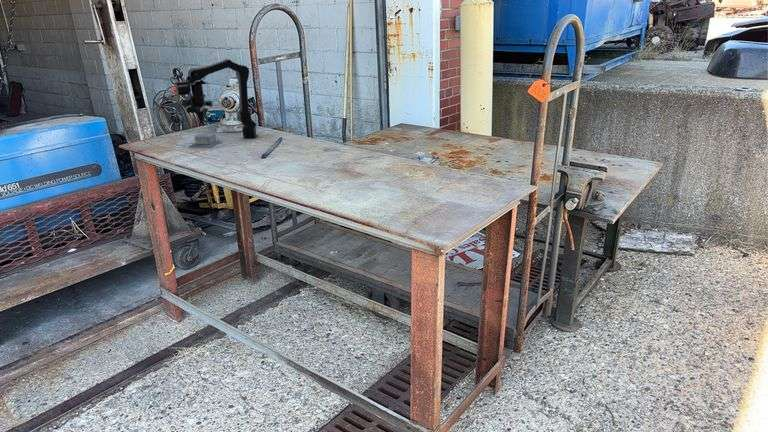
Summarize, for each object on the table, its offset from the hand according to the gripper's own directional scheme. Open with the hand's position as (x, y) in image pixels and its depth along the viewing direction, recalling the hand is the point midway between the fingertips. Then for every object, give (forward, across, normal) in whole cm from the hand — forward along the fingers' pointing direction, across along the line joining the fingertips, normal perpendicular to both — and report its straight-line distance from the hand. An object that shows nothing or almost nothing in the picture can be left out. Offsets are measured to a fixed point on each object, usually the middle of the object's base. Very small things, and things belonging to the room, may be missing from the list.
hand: (202, 122), depth 294 cm
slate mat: (+12, +1, 0) cm, 12 cm away
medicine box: (+9, -6, 0) cm, 11 cm away
